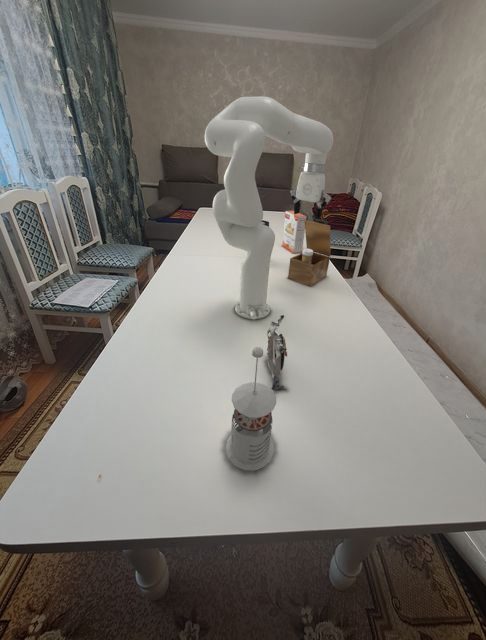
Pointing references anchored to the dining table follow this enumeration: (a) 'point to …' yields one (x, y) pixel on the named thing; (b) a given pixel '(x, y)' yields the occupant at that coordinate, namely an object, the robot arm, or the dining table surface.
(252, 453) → the french press
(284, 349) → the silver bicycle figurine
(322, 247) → the lid
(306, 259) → the sprinkles bottle
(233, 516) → the dining table surface
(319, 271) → the wooden box
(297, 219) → the cracker box
